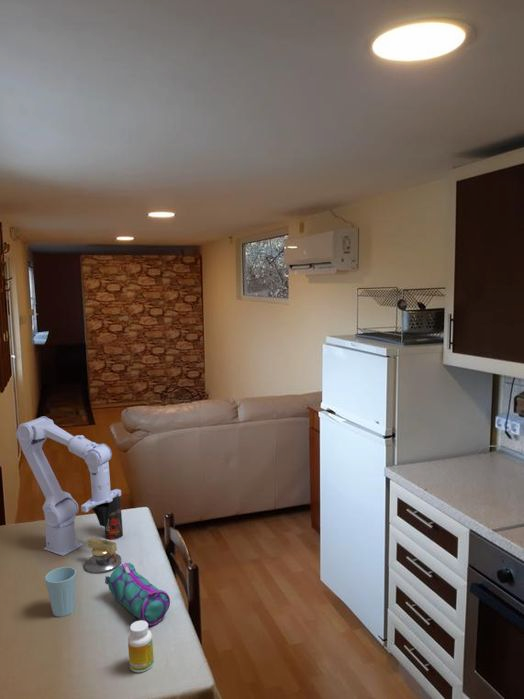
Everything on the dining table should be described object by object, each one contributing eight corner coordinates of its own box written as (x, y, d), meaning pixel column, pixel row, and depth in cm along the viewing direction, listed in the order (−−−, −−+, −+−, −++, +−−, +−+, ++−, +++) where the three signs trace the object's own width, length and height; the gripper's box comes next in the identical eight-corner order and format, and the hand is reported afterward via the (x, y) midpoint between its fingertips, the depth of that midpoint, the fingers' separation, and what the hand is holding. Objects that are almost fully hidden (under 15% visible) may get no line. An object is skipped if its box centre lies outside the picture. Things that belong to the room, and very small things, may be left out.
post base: (76, 567, 168) (75, 553, 168) (104, 551, 178) (103, 537, 177) (102, 577, 163) (100, 562, 162) (128, 560, 172) (127, 545, 171)
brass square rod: (108, 560, 165) (107, 548, 164) (83, 553, 169) (82, 542, 169) (121, 550, 170) (120, 539, 169) (96, 544, 174) (96, 534, 174)
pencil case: (106, 599, 152) (103, 566, 150) (135, 586, 158) (132, 555, 156) (143, 634, 136) (140, 598, 135) (173, 619, 142) (171, 584, 141)
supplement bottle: (152, 672, 123) (149, 632, 122) (127, 674, 123) (125, 634, 121) (155, 655, 128) (152, 617, 127) (131, 657, 128) (129, 619, 127)
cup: (79, 599, 152) (76, 564, 150) (78, 616, 144) (75, 579, 143) (50, 605, 149) (46, 569, 148) (47, 622, 142) (44, 584, 141)
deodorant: (125, 531, 191) (122, 490, 189) (119, 540, 185) (116, 497, 183) (109, 531, 192) (105, 490, 190) (102, 539, 186) (99, 497, 184)
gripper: (91, 494, 163) (94, 537, 165) (126, 478, 176) (129, 518, 178) (75, 490, 167) (78, 532, 169) (111, 474, 179) (114, 514, 181)
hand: (103, 525), depth 173 cm, fingers closed
